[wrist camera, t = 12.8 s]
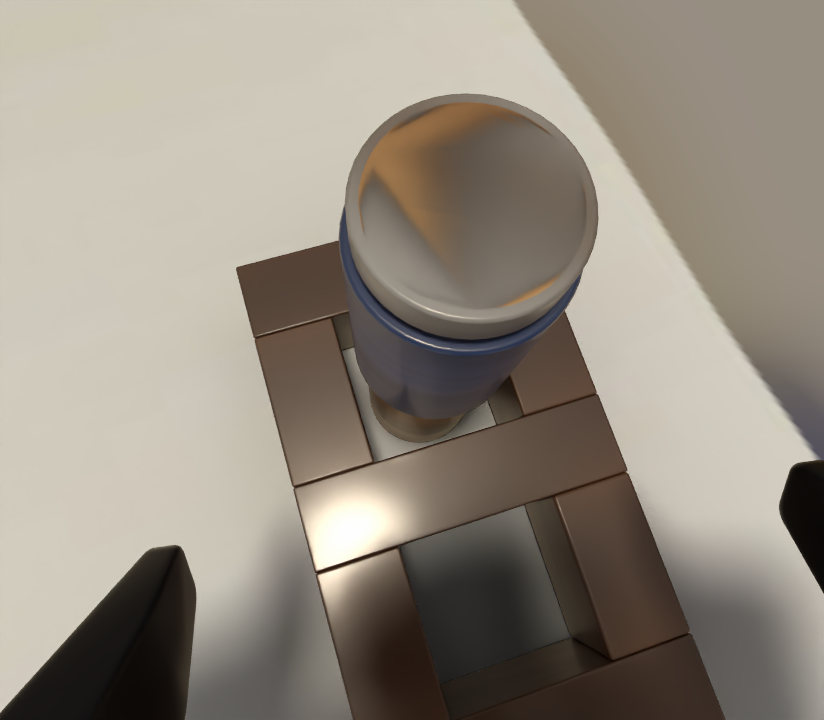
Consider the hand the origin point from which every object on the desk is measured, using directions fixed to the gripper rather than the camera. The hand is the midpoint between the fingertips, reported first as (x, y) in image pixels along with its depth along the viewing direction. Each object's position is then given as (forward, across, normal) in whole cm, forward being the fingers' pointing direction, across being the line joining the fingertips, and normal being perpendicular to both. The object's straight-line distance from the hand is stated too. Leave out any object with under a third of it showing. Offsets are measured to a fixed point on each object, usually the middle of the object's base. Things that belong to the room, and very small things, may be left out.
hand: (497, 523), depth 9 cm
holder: (+8, -1, +7) cm, 11 cm away
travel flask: (+10, 0, +4) cm, 11 cm away
